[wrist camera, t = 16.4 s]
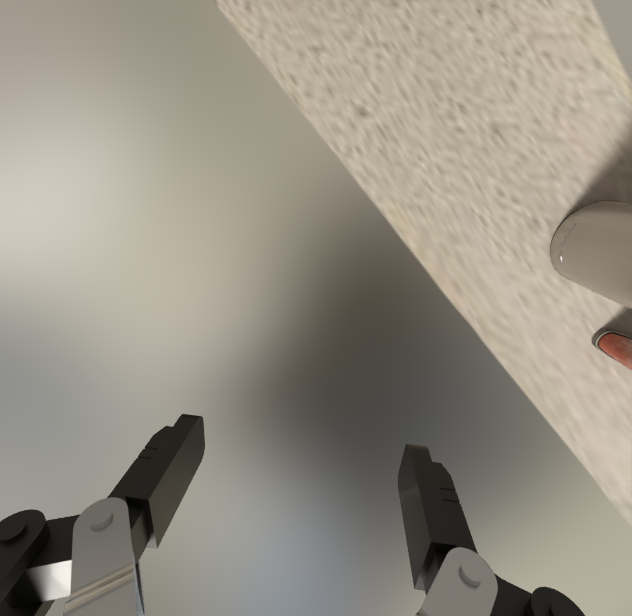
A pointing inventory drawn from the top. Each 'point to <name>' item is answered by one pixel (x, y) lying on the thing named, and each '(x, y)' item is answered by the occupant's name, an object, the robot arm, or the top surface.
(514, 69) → the top surface
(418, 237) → the top surface
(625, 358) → the lighter
